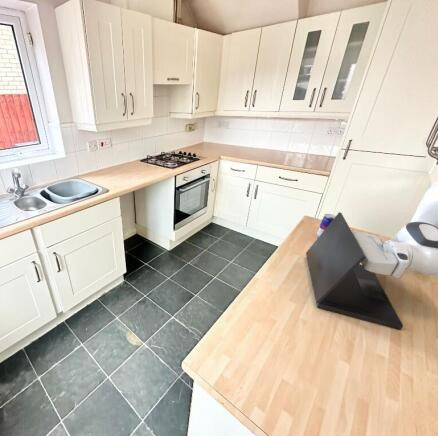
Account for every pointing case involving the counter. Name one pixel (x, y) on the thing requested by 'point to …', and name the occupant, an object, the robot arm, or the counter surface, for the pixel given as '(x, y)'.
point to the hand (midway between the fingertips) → (341, 245)
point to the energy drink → (325, 223)
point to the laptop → (361, 299)
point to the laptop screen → (333, 257)
